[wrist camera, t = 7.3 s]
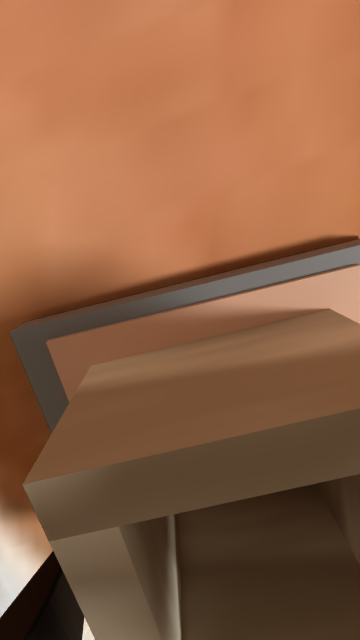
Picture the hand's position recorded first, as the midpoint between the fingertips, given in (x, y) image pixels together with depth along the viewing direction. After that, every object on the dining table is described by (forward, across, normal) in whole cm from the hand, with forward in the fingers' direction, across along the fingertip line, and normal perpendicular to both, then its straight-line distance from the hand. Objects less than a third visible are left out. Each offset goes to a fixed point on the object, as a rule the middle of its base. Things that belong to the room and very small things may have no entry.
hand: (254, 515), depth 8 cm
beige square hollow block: (+3, 0, 0) cm, 3 cm away
